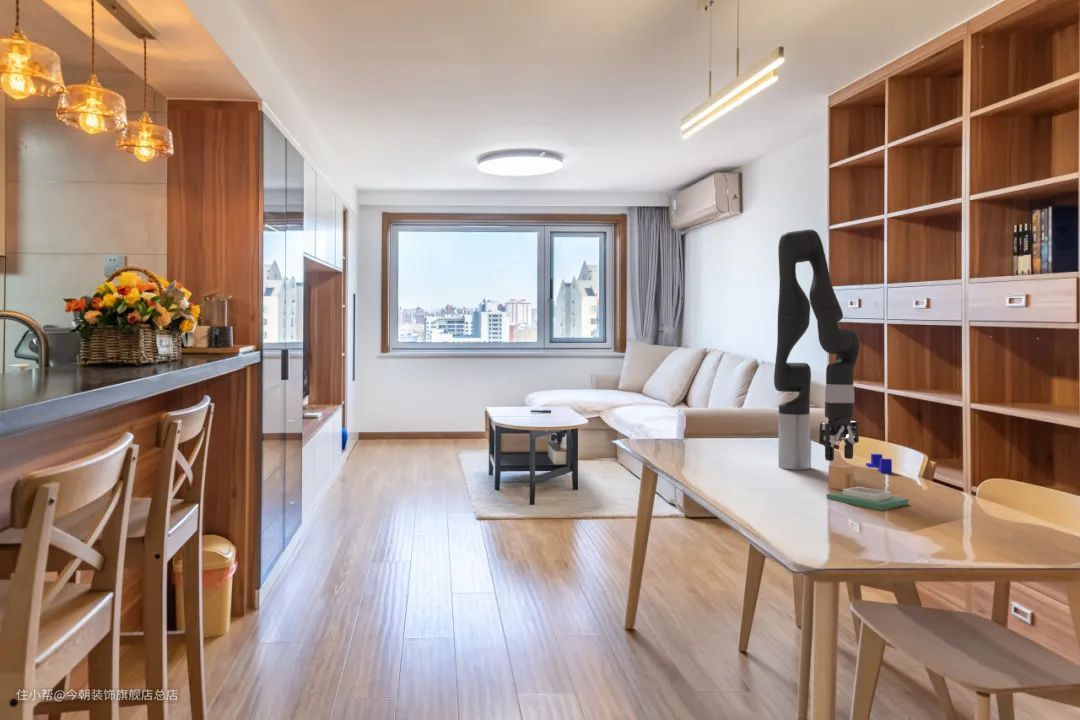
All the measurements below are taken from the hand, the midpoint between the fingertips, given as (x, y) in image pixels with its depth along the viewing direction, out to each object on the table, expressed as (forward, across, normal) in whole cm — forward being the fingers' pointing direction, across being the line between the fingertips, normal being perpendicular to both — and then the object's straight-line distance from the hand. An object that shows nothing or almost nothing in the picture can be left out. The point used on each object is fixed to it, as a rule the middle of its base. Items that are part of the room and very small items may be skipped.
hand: (839, 459), depth 198 cm
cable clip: (+9, -35, -10) cm, 37 cm away
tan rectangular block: (+9, -1, 0) cm, 9 cm away
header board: (+9, +7, +13) cm, 17 cm away
